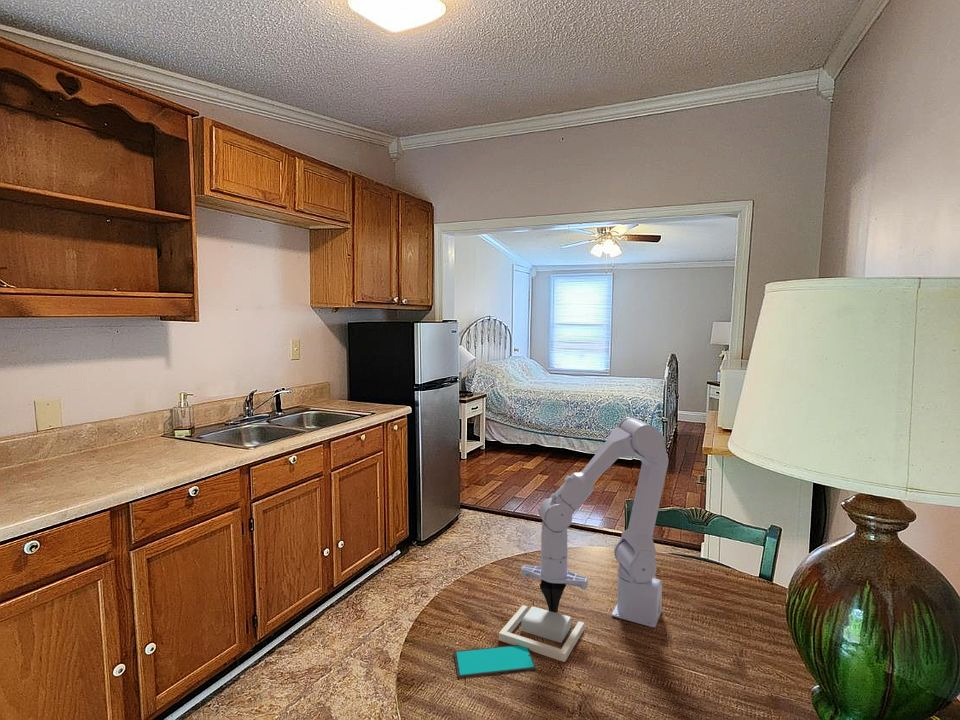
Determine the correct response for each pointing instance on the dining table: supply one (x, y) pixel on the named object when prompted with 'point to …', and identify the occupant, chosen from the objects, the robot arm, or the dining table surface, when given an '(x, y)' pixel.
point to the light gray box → (546, 624)
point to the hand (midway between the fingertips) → (553, 612)
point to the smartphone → (493, 661)
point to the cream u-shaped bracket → (537, 646)
